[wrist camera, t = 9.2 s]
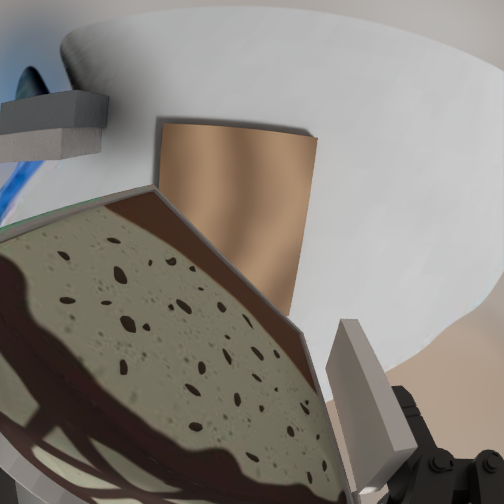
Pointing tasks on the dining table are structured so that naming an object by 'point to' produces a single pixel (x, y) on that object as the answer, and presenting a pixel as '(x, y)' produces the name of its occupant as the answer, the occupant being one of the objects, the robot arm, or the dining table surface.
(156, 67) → the dining table surface
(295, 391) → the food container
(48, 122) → the grey blocks
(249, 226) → the light brown board
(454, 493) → the robot arm
